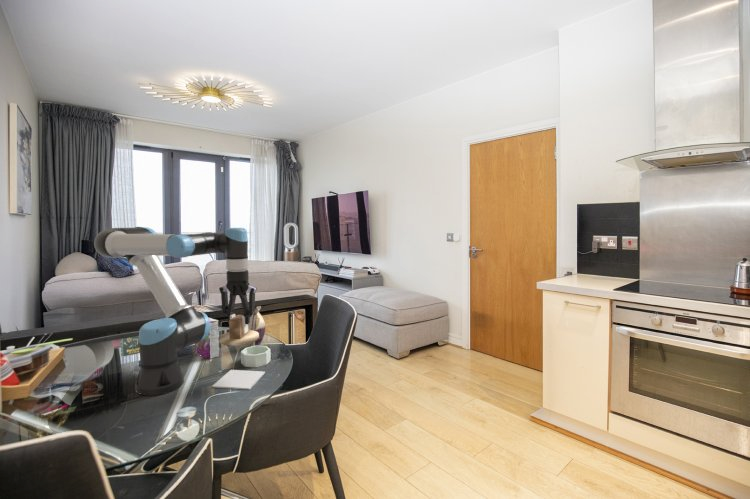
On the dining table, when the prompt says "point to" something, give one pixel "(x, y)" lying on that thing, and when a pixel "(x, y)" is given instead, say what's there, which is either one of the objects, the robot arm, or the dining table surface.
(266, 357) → the bowl
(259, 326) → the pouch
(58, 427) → the dining table surface
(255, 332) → the lid
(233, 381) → the mat
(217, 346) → the candy bar box
